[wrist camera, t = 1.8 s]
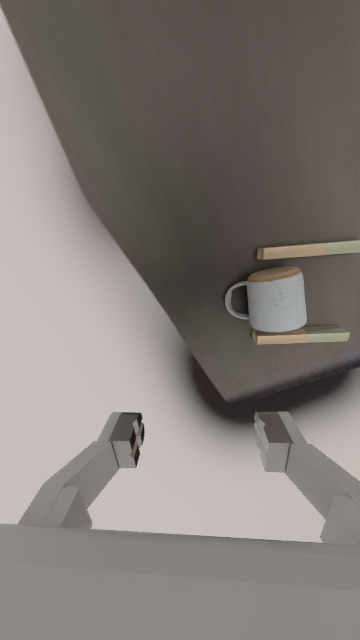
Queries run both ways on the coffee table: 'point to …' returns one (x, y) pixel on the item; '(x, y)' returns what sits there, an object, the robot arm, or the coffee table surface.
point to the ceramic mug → (273, 299)
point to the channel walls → (308, 332)
